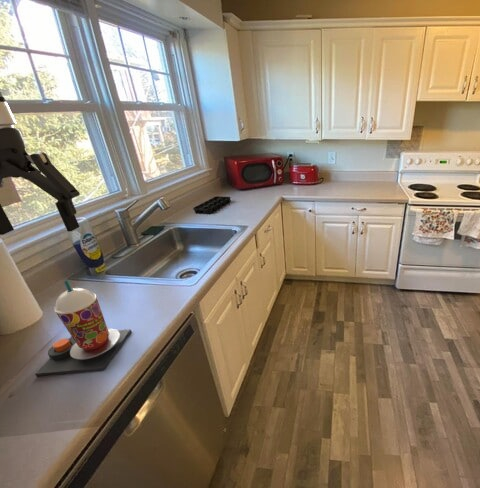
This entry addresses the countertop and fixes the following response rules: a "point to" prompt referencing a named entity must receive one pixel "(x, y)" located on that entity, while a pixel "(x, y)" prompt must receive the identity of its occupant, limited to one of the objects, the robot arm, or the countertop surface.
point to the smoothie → (82, 317)
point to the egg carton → (211, 205)
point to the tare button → (61, 345)
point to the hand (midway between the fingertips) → (40, 230)
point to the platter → (87, 354)
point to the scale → (68, 365)
